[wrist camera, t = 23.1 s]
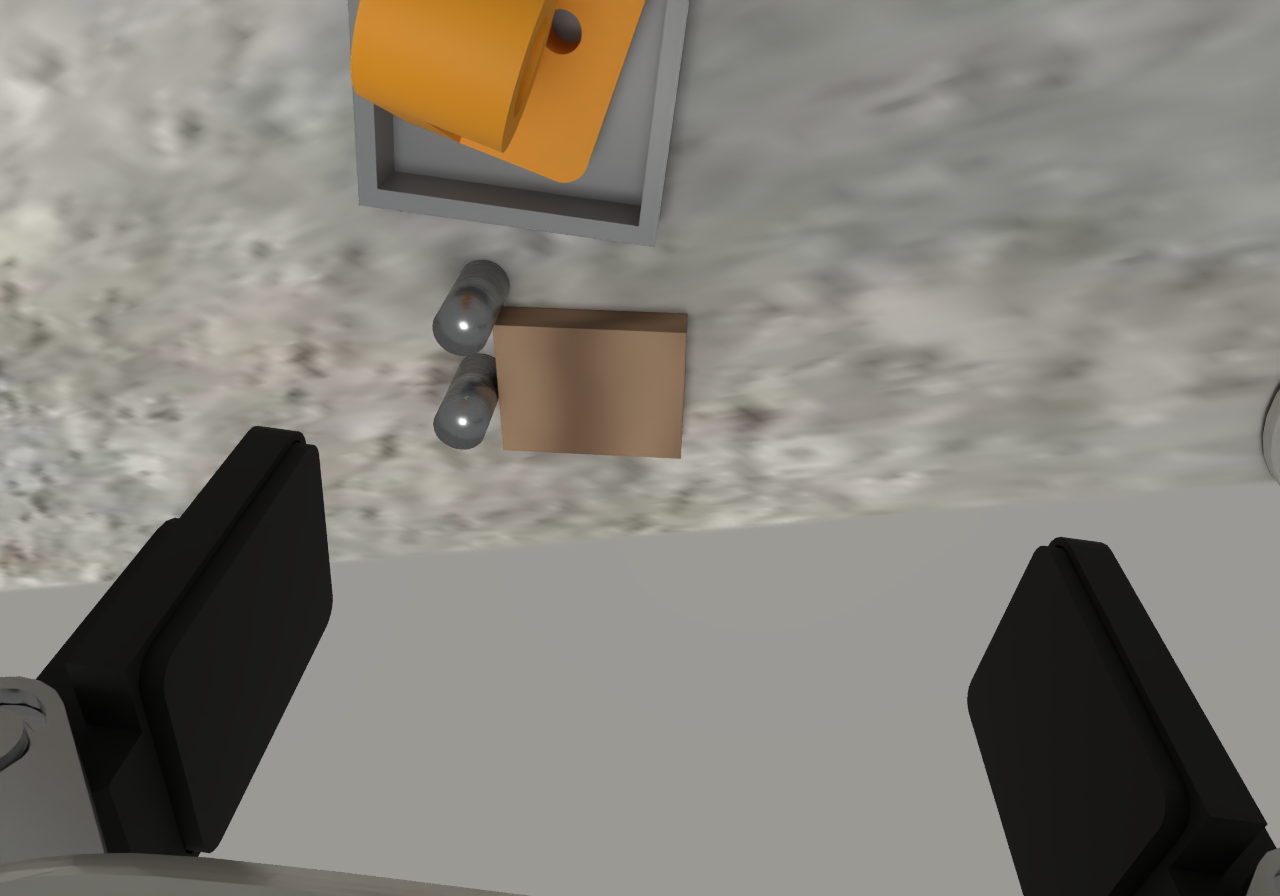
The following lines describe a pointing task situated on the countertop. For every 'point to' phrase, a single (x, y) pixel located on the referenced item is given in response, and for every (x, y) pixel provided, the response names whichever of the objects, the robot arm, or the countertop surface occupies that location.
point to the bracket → (497, 73)
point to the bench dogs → (470, 353)
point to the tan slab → (591, 381)
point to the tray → (513, 196)
